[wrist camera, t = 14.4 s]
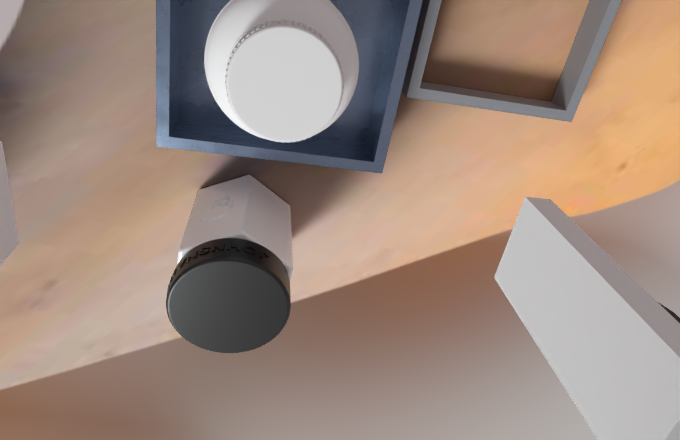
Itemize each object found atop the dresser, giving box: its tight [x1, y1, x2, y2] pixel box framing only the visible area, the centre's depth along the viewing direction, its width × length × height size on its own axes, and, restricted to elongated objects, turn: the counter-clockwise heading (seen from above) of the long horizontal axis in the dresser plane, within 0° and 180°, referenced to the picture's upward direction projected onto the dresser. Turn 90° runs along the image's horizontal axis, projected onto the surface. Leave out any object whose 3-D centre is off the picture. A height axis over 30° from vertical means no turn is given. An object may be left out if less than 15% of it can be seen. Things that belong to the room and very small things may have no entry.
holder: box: [402, 0, 622, 122], centre depth 36 cm, size 14×14×2 cm
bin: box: [156, 0, 423, 173], centre depth 34 cm, size 16×16×5 cm
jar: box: [166, 175, 293, 353], centre depth 38 cm, size 9×8×12 cm
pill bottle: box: [204, 0, 359, 143], centre depth 28 cm, size 8×8×15 cm
